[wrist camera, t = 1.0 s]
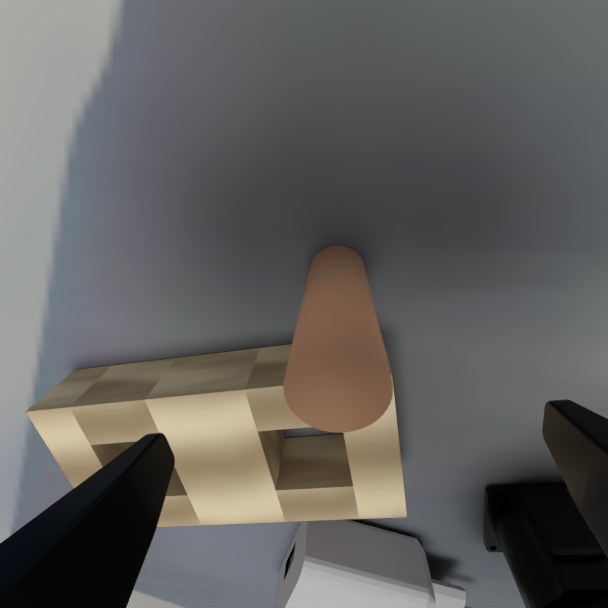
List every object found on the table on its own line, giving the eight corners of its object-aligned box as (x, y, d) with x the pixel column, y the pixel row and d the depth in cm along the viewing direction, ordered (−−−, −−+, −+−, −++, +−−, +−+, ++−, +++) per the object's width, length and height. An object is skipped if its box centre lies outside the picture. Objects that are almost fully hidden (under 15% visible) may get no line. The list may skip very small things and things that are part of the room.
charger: (440, 610, 31) (278, 567, 30) (492, 551, 27) (308, 501, 27) (457, 685, 27) (269, 637, 26) (521, 627, 23) (302, 569, 22)
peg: (368, 294, 19) (397, 428, 10) (314, 301, 19) (294, 436, 10) (361, 241, 18) (387, 337, 9) (304, 250, 18) (272, 351, 9)
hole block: (396, 460, 24) (406, 516, 20) (131, 477, 27) (99, 529, 23) (381, 333, 20) (392, 374, 16) (75, 370, 23) (25, 411, 19)
